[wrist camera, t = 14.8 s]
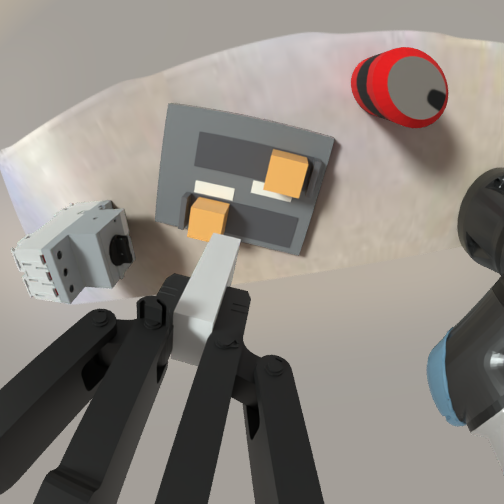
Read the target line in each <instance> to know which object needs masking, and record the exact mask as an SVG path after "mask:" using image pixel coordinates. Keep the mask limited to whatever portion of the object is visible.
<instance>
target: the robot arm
mask: <svg viewBox="0 0 504 504" xmlns="http://www.w3.org/2000/svg"><path fill="white" fill-rule="evenodd" d="M458 235H459V239H460V242H461V244H462V246H463V248H464V249H465V251H466V252H467V253H468V254H469V255H470V257H471V258H472V259H473V260H474V261H476V262H477V263H478V264H480V265H482V266H484V267H487V268H489V269H491V270H493V271H495V272H497V273H499V274H500V275H501V277H500V278H499V280H498V281H497V282H496V283H495V284H494V286H493V287H492V288H491V289H490V290H489V291H488V292H487V293H486V294H485V296H484V297H483V298H482V299H481V300H480V301H479V302H478V303H477V304H476V305H475V306H474V307H473V308H472V309H471V311H470V312H469V313H468V314H467V315H466V316H465V317H464V318H463V319H462V320H461V321H460V322H459V323H458V324H457V325H456V326H454V327H452V328H451V329H450V330H449V331H448V332H447V334H446V335H445V337H444V338H443V339H442V340H441V341H440V342H439V343H438V344H437V345H436V346H435V347H434V348H433V349H432V351H431V352H430V354H429V357H428V364H427V379H428V384H429V388H430V391H431V395H432V397H433V400H434V402H435V404H436V406H437V408H438V410H439V412H440V413H441V415H442V416H446V420H447V422H449V423H450V424H451V425H454V426H464V425H467V426H468V428H469V430H470V432H471V434H472V435H476V436H482V437H485V438H487V439H488V441H489V443H490V445H491V447H492V449H493V451H494V454H495V456H496V458H497V460H498V463H499V465H500V467H501V470H502V472H503V475H504V168H495V169H492V170H489V171H487V172H485V173H484V174H482V175H481V176H480V177H479V178H477V179H476V180H475V182H474V183H473V184H472V185H471V186H470V188H469V189H468V191H467V193H466V195H465V197H464V199H463V201H462V204H461V207H460V211H459V215H458ZM240 242H241V239H238V238H234V237H229V236H225V235H221V234H217V233H213V235H212V237H211V239H210V241H209V242H208V244H207V246H206V248H205V250H204V252H203V254H202V256H201V258H200V260H199V262H198V264H197V266H196V268H195V270H194V272H193V274H192V276H191V278H190V277H186V276H183V275H179V274H175V273H174V274H173V275H171V276H170V277H168V278H167V279H166V280H165V282H164V284H163V286H162V287H161V289H160V290H159V292H158V294H157V295H156V296H145V297H143V298H141V299H140V300H139V301H137V319H134V320H119V319H116V317H115V315H114V314H113V313H112V312H111V311H109V310H106V309H96V310H92V311H91V312H89V313H88V314H86V315H85V316H84V317H83V318H81V319H80V320H79V321H78V322H77V323H75V324H74V325H73V326H72V327H71V328H70V329H68V330H67V331H66V332H65V333H64V334H62V335H61V336H60V337H59V338H58V339H57V340H55V341H54V342H53V343H52V344H51V345H50V346H48V347H47V348H46V349H45V350H44V351H43V352H42V353H40V354H39V355H38V356H37V357H36V358H35V359H34V360H33V361H31V362H30V363H29V364H28V365H27V366H26V367H25V368H24V369H22V370H21V371H20V372H19V373H18V374H17V375H16V376H15V377H14V378H12V379H11V380H10V381H9V382H8V383H7V384H6V385H5V386H4V387H3V388H2V389H1V390H0V494H2V493H4V492H5V491H6V490H8V489H9V488H11V487H12V486H13V485H14V484H15V483H16V482H17V481H18V480H19V479H20V478H21V476H22V475H23V474H24V473H25V472H26V471H27V469H29V468H30V466H31V465H32V464H33V463H34V462H35V461H36V460H37V458H38V457H39V456H40V455H41V454H42V453H43V452H44V451H45V450H46V448H47V447H48V446H49V445H50V444H51V443H52V442H53V441H54V439H55V438H56V437H57V436H58V435H59V434H60V433H61V432H62V431H63V430H64V428H65V427H66V426H67V425H68V424H69V423H70V422H71V421H72V420H73V419H74V417H75V416H76V415H77V414H78V413H79V412H80V411H81V410H82V409H83V407H84V406H85V405H86V404H87V403H88V402H89V401H90V400H91V399H92V400H91V402H90V404H89V406H88V408H87V410H86V412H85V414H84V416H83V418H82V420H81V422H80V424H79V426H78V428H77V430H76V432H75V434H74V436H73V438H72V440H71V442H70V444H69V446H68V448H67V450H66V452H65V454H64V456H63V459H62V461H61V463H60V465H59V466H58V467H57V468H56V469H54V470H52V471H50V472H49V473H48V474H47V475H46V477H45V479H44V480H43V482H42V484H41V487H40V489H39V491H38V494H37V496H36V498H35V500H34V503H33V504H116V503H117V500H118V497H119V495H120V492H121V489H122V486H123V483H124V480H125V478H126V475H127V472H128V469H129V467H130V464H131V461H132V459H133V456H134V453H135V450H136V448H137V445H138V442H139V440H140V436H141V435H142V432H143V429H144V427H145V424H146V421H147V419H148V416H149V413H150V411H151V408H152V406H153V403H154V401H155V398H156V395H157V393H158V390H159V388H160V385H161V383H162V380H163V378H164V375H165V373H166V370H167V366H168V359H169V356H170V354H171V359H175V360H178V361H182V362H185V363H188V364H192V365H196V366H198V369H197V372H196V375H195V378H194V381H193V384H192V387H191V390H190V393H189V397H188V399H187V403H186V406H185V409H184V412H183V415H182V418H181V421H180V424H179V427H178V431H177V434H176V437H175V440H174V443H173V446H172V450H171V453H170V456H169V459H168V462H167V465H166V469H165V472H164V475H163V478H162V482H161V485H160V488H159V491H158V495H157V498H156V501H155V504H208V500H209V495H210V491H211V486H212V482H213V477H214V473H215V468H216V464H217V459H218V455H219V450H220V446H221V441H222V436H223V431H224V427H225V423H226V418H227V413H228V409H229V404H230V399H231V397H232V398H234V399H236V400H238V401H240V402H241V403H243V410H244V419H245V427H246V435H247V443H248V451H249V459H250V467H251V475H252V483H253V490H254V497H255V504H324V501H323V497H322V492H321V488H320V484H319V480H318V475H317V471H316V467H315V463H314V459H313V454H312V450H311V446H310V442H309V438H308V434H307V430H306V426H305V421H304V417H303V413H302V409H301V405H300V401H299V397H298V393H297V389H296V385H295V381H294V377H293V373H292V369H291V367H290V365H289V363H288V362H287V361H286V360H285V359H283V358H281V357H279V356H276V355H266V356H263V357H262V358H261V357H259V356H257V355H255V354H253V353H252V352H250V351H249V350H248V349H247V348H246V346H245V345H244V342H243V335H244V330H245V325H246V320H247V316H248V311H249V305H250V301H251V298H250V296H249V293H248V291H244V290H240V289H236V288H232V287H230V286H231V282H232V279H233V274H234V269H235V265H236V260H237V255H238V251H239V246H240Z"/></svg>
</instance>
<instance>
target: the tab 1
mask: <svg viewBox="0 0 504 504" xmlns="http://www.w3.org/2000/svg"><path fill="white" fill-rule="evenodd" d="M229 206H230V204H228V203H224V202H220V201H215V200H211V199H206V198H202V197H199V198H198V199H197V200H196V201H195V203H194V204H193V205H192V206H191V212H190V219H189V227H188V235H187V237H190V238H194V239H198V240H202V241H206V242H209V241H210V239H211V237H212V235H213V233H217V234H221V235H223V234H224V232H225V227H226V221H227V216H228V211H229Z"/></svg>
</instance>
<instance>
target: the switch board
mask: <svg viewBox="0 0 504 504" xmlns="http://www.w3.org/2000/svg"><path fill="white" fill-rule="evenodd" d="M333 143H334V138H333V137H331V136H328V135H324V134H321V133H317V132H313V131H310V130H306V129H302V128H298V127H294V126H291V125H287V124H282V123H278V122H274V121H270V120H265V119H261V118H256V117H252V116H247V115H242V114H237V113H232V112H226V111H221V110H215V109H209V108H203V107H197V106H190V105H184V104H176V103H170V104H168V109H167V116H166V123H165V130H164V137H163V145H162V153H161V161H160V170H159V180H158V190H157V202H156V214H155V221H157V222H161V223H165V224H169V225H174V226H178V229H181V230H183V229H184V228H186V229H188V227H189V219H190V212H191V206H192V205H193V204H194V203H195V201H196V200H197V199H198V198H199V197H202V198H206V199H211V200H215V201H220V202H224V203H228V204H230V206H229V211H228V216H227V221H226V227H225V232H224V234H223V235H225V236H229V237H234V238H238V239H241V242H244V243H249V244H253V245H257V246H261V247H265V248H269V249H273V250H277V251H282V252H286V253H290V254H294V255H298V256H299V254H300V251H301V247H302V244H303V241H304V238H305V235H306V232H307V229H308V226H309V223H310V219H311V216H312V213H313V210H314V207H315V203H316V200H317V197H318V194H319V190H320V187H321V184H322V181H323V177H324V174H325V170H326V167H327V164H328V160H329V157H330V153H331V150H332V146H333ZM273 149H276V150H280V151H284V152H288V153H292V154H296V155H299V156H303V157H307V160H308V168H307V171H306V175H305V178H304V182H303V185H302V189H301V192H300V196H299V198H295V197H291V196H287V195H283V194H279V193H275V192H271V191H267V190H263V188H264V184H265V180H266V175H267V171H268V167H269V163H270V159H271V155H272V151H273Z"/></svg>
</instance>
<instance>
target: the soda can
mask: <svg viewBox="0 0 504 504" xmlns="http://www.w3.org/2000/svg"><path fill="white" fill-rule="evenodd" d="M351 88H352V93H353V95H354V98H355V99H356V101H357V103H358V104H359V105H360V106H361V107H362V108H363V109H364V110H365V111H367V112H368V113H370V114H372V115H375V116H378V117H381V118H384V119H386V120H389V121H392V122H394V123H397V124H400V125H402V126H405V127H410V128H422V127H426V126H428V125H430V124H432V123H434V122H435V121H436V120H437V119H439V117H440V116H441V115H442V114H443V112H444V110H445V108H446V105H447V101H448V85H447V81H446V78H445V75H444V73H443V71H442V69H441V68H440V67H439V65H438V64H437V63H436V62H435V61H434V60H433V59H432V58H431V57H430V56H429V55H427V54H426V53H424V52H422V51H420V50H418V49H414V48H409V47H401V48H396V49H393V50H390V51H387V52H384V53H381V54H378V55H375V56H372V57H370V58H367V59H365V60H363V61H362V62H361V63H359V64H358V65H357V67H356V68H355V70H354V72H353V74H352V78H351Z"/></svg>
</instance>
